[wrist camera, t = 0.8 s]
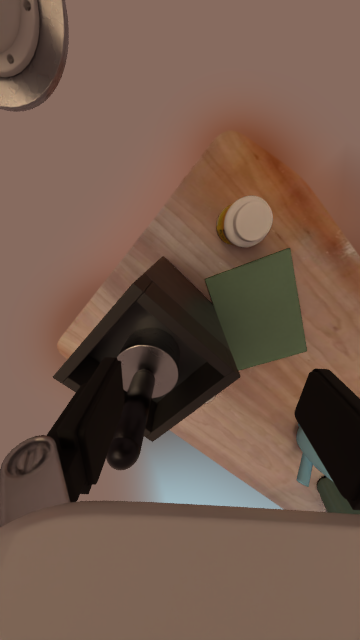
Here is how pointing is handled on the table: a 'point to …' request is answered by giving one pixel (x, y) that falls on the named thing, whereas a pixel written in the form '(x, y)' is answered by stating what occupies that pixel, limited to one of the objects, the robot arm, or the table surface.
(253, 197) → the supplement bottle
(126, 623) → the robot arm
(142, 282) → the black box
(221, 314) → the green mat
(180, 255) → the table surface
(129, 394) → the meat pounder
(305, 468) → the teapot
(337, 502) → the flower pot
